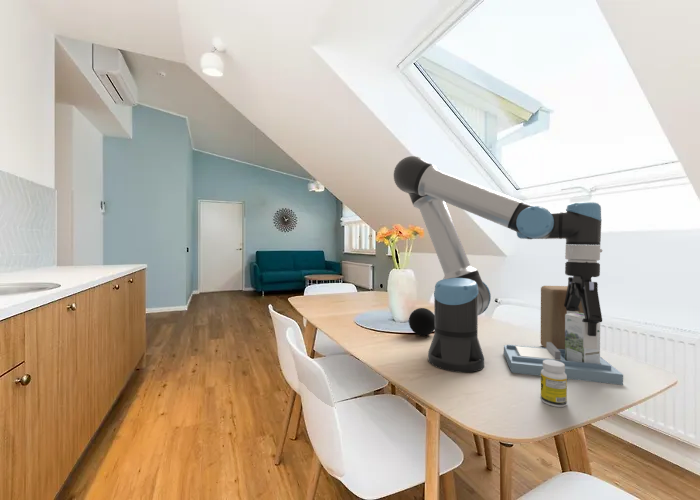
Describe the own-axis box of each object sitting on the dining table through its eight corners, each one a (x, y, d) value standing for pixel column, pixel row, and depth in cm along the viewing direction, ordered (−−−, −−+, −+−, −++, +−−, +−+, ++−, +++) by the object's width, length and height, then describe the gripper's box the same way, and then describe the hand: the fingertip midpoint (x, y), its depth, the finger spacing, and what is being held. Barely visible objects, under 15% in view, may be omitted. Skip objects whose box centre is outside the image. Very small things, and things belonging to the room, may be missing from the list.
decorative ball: (440, 338, 117) (440, 310, 117) (414, 339, 115) (414, 311, 115) (430, 331, 127) (430, 305, 126) (405, 332, 125) (405, 306, 125)
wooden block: (588, 356, 97) (589, 290, 97) (551, 354, 99) (551, 289, 99) (572, 346, 107) (573, 285, 107) (539, 344, 109) (539, 285, 109)
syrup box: (601, 371, 85) (601, 316, 85) (583, 374, 83) (584, 317, 83) (580, 364, 90) (581, 311, 90) (563, 366, 89) (564, 313, 89)
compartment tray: (511, 372, 85) (511, 359, 85) (503, 353, 100) (503, 342, 100) (623, 384, 77) (623, 370, 77) (596, 362, 93) (596, 349, 93)
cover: (520, 359, 88) (520, 348, 87) (515, 349, 96) (515, 339, 96) (561, 363, 84) (561, 352, 84) (552, 352, 93) (552, 342, 93)
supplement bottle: (543, 394, 72) (543, 357, 72) (568, 401, 69) (568, 362, 69) (538, 402, 69) (538, 363, 69) (564, 410, 66) (565, 368, 66)
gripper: (621, 264, 74) (618, 357, 74) (582, 259, 97) (580, 330, 98) (582, 263, 76) (580, 353, 76) (553, 258, 100) (551, 327, 100)
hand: (580, 340), depth 87 cm, fingers open, 13 cm apart
